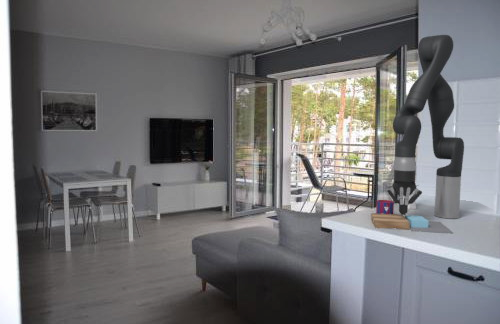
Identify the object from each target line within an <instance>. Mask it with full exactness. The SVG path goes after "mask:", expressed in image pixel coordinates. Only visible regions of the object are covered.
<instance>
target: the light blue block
mask: <svg viewBox="0 0 500 324" xmlns="http://www.w3.org/2000/svg"><path fill="white" fill-rule="evenodd" d="M404 217H405V218H406V219H407V220H408V221H409V222H410V226H411V227H422V228H428V223H429V220H428V219H426V218H425V217H423V216H422V215H414V214H413V215H412V214H411V215H409V214H406V215H404Z"/></svg>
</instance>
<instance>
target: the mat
mask: <svg viewBox="0 0 500 324" xmlns="http://www.w3.org/2000/svg"><path fill="white" fill-rule="evenodd" d="M428 221H429V220H428ZM410 230H411V232H419V231H421V232H422V233H423V232H424V233H441V234H443V233H444V234H454V231H452V230H451V229H450V228H448V227H447V226H446V225H445V224H443V223H442V221H431V220H430V221H429V223H428V228H422V227H411V226H410ZM410 230H409V231H410Z"/></svg>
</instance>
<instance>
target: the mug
mask: <svg viewBox="0 0 500 324" xmlns="http://www.w3.org/2000/svg"><path fill="white" fill-rule="evenodd" d="M394 205H395V201H394V200H390V199H377V200H376V212H375V213H376V214H394V212H395V211H394V210H395V209H394V207H395V206H394Z"/></svg>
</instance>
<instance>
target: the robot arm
mask: <svg viewBox="0 0 500 324" xmlns="http://www.w3.org/2000/svg"><path fill="white" fill-rule="evenodd" d="M453 51H454V40H453V38H452V37H451V36H450V35H448V34H438V35H430V36H429V35H428V36H425V37H422V38H421V39H420V40H419V41H418V46H417V52H418V53H417V54H418V59H419V64H420V66H421V70H422V74H421V75H420V76H419V77H418V78H417V79H416V80H415V81H414V83H413V84H412V85H411V87H410V89H409V90H408V93H407V96H406V98H405V101H404V104H403V105H402V106H401V107H400V108H399V110H398V112H397V114H396V115H395V117H394V119H393V122H392V129H393V132H395V133H396V134H397V135H403V136H402V139H401V140H399V141H398V142H396V144H395V154H394V155H395V157H394V165H393V167H394V169H393V170H394V171H393V183H392V186H391V187H389V188H387V189H386V192H387V194H388V195H389V196H390V198H392V201H394V204H398V213H400V215H403V216H405V215H407V214H408V211H409V209H408V205H409V204H412V203H413V202H414V201H415V202H416V200H417V199H418V198H419V197H420V196H421V195H422V194H423V192H422V190H420V189H419V188H417V186H416V185H417V184H416V175H415V174H417V173H416V170H417V161H416V155H417V154H416V151H417V149H416V148H417V145H418V141H419V138H420V135H421V131H422V123H421V120H420V118H419V117H418V116H416V115H417V114H419V113H421V112H422V111H423V110H424V108H425V106H426V104H427V106H428V110H429V111H428V112H429V116H430V122H431V134H432V135H431V136H432V150H433V155H434V157H435V158H436V159H439V160H450V163H449V164H447V165H446V166H442V167H438V168H437V169H436V173H435V176H436V178H435V197H434V200H435V201H434V217H437V218H441V219H442V218H443V219H450V220H452V219H453V220H454V219H459V218H460V206H461V205H460V203H461V185H462V184H461V183H462V182H461V180H462V171H463V161H464V153H465V142H464V140H463V138H461V137H456V136H454V137H452V136H451V137H450V136H445V135H444V129H445V125H446V124H447V122H448V120H449V118H450V117H451V115H452V113H453V111H454V109H455V99H454V93H453V89H452V87H451V86H450V84H449V83H448V82H447V80H445V78H444V77H443V75H442V74H441V73H442V71H443V69H444V68H445V67H446V64H447V63H448V61H449V60H450V58H451V56H452V53H453ZM414 190H415V191H414ZM413 191H414V195H413V196H412V197H411V198H410V199H409V196H410V195H411V194H412V193H413ZM394 193H396V194H397V196H398V198H397V197H396V195H395V194H394ZM403 196H404V204H403Z"/></svg>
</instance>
